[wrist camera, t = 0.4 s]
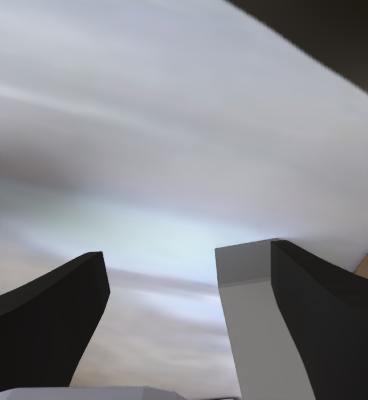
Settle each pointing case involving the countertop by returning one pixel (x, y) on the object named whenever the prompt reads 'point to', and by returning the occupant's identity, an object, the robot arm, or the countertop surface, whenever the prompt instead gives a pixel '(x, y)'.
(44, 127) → the countertop surface
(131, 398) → the robot arm
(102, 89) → the countertop surface
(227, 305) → the grey long block
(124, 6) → the countertop surface
